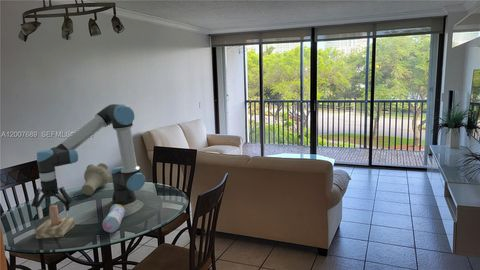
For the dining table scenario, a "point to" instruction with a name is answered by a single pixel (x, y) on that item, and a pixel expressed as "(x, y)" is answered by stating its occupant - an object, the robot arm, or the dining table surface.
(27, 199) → the dining table surface
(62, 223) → the socket block
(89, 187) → the vase
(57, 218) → the peg
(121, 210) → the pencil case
